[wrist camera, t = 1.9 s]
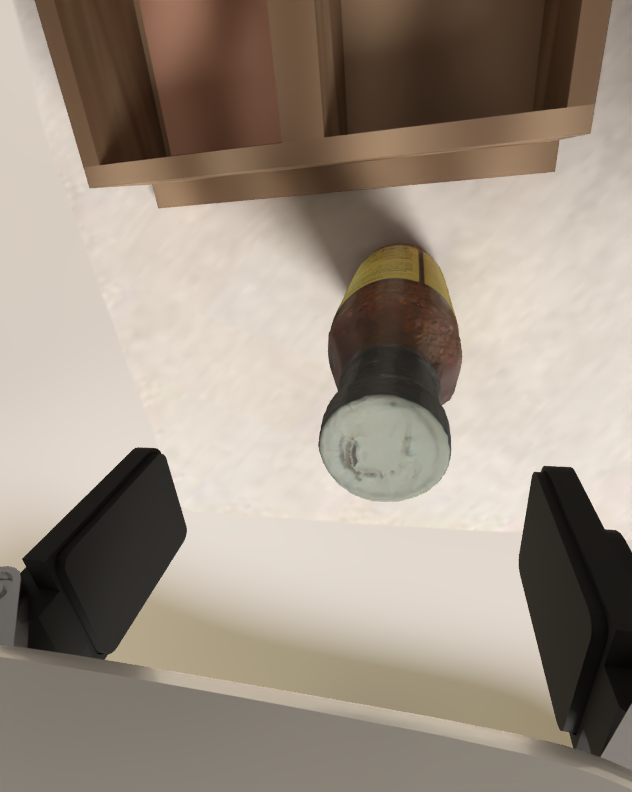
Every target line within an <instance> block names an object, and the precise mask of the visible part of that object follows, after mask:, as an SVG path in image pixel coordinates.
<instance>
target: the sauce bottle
mask: <svg viewBox="0 0 632 792" xmlns="http://www.w3.org/2000/svg"><path fill="white" fill-rule="evenodd" d="M328 357H329V364H330V368H331V371H332V374H333V377H334V380H335V383H336V386H337V389H338V392H337V393H336V394H335V396H334V397H333V398H332V400H331V401H330V403H329V405H328V406H327V410H326V412H325V414H324V416H323V421H322V425H321V431H320V436H319V444H318V446H319V451H320V454H321V457H322V460H323V463H324V464H325V466H326V468H327V470H328V472H329V473H330V474H331V476H332V477H333V478H334V479H335V480H336V481H337V483H338V484H339V485H340V486H342V487H344V488H345V489H347V490H348V491H349V492H350V493H352V494H354V495H356V496H359V497H361V498H364V499H368V500H371V501H382V502H393V501H402V500H405V499H410V498H413V497H416V496H418V495H421V494H423V493H425V492H427V491H429V490H430V489H431V488H432V487H433V486H434V485H436V484H437V483H438V482H439V481H440V480H441V478H442V476H443V475H444V474H445V472H446V470H447V468H448V465H449V461H450V456H451V435H450V427H449V422H448V419H447V416H446V413H445V410H444V409H443V407H442V405H443V404H444V403H446V402H447V401H449V400H450V399H451V397H452V395H453V394H454V391H455V387H456V383H457V380H458V376H459V373H460V369H461V363H462V350H461V343H460V337H459V330H458V324H457V320H456V316H455V313H454V310H453V306H452V303H451V300H450V296H449V292H448V289H447V285H446V282H445V279H444V276H443V273H442V271H441V269H440V267H439V266H438V264H437V263H436V262H435V261H434V259H433V258H432V257H430V256H429V255H428V254H427V253H425V252H423V251H422V250H421V249H420V248H418V247H415V246H411V245H400V244H398V245H393V246H387V247H383V248H380V249H379V250H376V251H375V252H374V253H373V254H372V255H370V256H369V257H368V258H367V259H366V260H365V261H364V262H363V263H362V264H361V265H360V266H359V268H358V269H357V271H356V273H355V274H354V276H353V279H352V281H351V283H350V285H349V287H348V289H347V291H346V294H345V296H344V298H343V300H342V302H341V304H340V306H339V308H338V311H337V313H336V315H335V317H334V320H333V323H332V326H331V330H330V332H329V341H328Z"/></svg>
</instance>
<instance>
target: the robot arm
mask: <svg viewBox="0 0 632 792" xmlns="http://www.w3.org/2000/svg"><path fill="white" fill-rule="evenodd" d="M186 533H187V528H186V524H185V520H184V517H183V514H182V510H181V507H180V503H179V500H178V497H177V493H176V490H175V486H174V483H173V480H172V476H171V473H170V470H169V466H168V463H167V459H166V457H165V455H164V454H161V452H160V451H159V450H158V449H156V448H135V449H133V450H132V451H131V452H130V453H129V454H128V455H127V456H126V457H125V458H124V459H123V460H122V461H121V462H120V463H119V464H118V465H117V466H116V467H115V468H114V469H113V470H112V471H111V472H110V473H109V474H108V475H107V476H106V477H105V478H104V479H103V480H102V481H101V482H100V483H99V484H98V485H97V486H96V487H95V488H94V489H93V490H92V491H91V492H90V493H89V494H88V495H87V496H85V498H83V499H82V500H81V501H80V502H79V503H78V504H77V506H75V507H74V508H73V509H72V510H71V511H70V512H69V513H68V514H67V515H66V516H65V517H64V518H63V519H62V520H61V521H60V522H59V523H58V524H57V525H56V526H55V527H54V528H53V529H52V530H51V531H50V532H49V533H48V534H47V535H46V536H45V537H44V538H43V539H42V540H41V541H40V542H39V543H38V544H37V545H36V546H35V547H34V548H33V549H32V550H31V551H30V552H29V553H28V554H27V555H26V556H25V557H24V558H23V559H22V560H23V562H24V563H25V565H26V568H25V569H24V570H23V571H22V572H21V573H20V572H19V571H18V570H17V569H16V568H14V567H9V566H6V567H0V792H632V552H631V550H630V548H629V546H628V544H627V543H626V541H625V539H624V538H623V536H622V535H621V533H619V532H618V531H616V530H605V529H604V527H603V525H602V523H601V521H600V519H599V517H598V515H597V513H596V512H595V510H594V508H593V506H592V504H591V502H590V500H589V498H588V496H587V494H586V492H585V490H584V488H583V486H582V484H581V482H580V480H579V478H578V476H577V474H576V472H575V471H574V469H573V468H571V467H555V466H544V467H543V468H542V470H541V472H534V473H533V475H532V480H531V486H530V492H529V498H528V505H527V511H526V517H525V523H524V529H523V535H522V541H521V548H520V554H519V571H520V576H521V579H522V584H523V588H524V592H525V596H526V600H527V604H528V608H529V612H530V616H531V620H532V624H533V628H534V632H535V636H536V640H537V644H538V649H539V653H540V656H541V660H542V665H543V669H544V673H545V676H546V681H547V685H548V689H549V693H550V697H551V701H552V705H553V709H554V713H555V717H556V721H557V724H558V726H559V729H560V730H561V731H566V732H569V733H570V737H571V740H572V745H573V748H571V747H567V746H564V745H560V744H556V743H552V742H548V741H544V740H540V739H536V738H532V737H528V736H524V735H519V734H515V733H511V732H505V731H500V730H495V729H490V728H485V727H480V726H475V725H470V724H464V723H460V722H455V721H450V720H445V719H439V718H434V717H429V716H424V715H418V714H412V713H407V712H401V711H396V710H390V709H385V708H379V707H374V706H368V705H362V704H357V703H351V702H346V701H339V700H335V699H329V698H323V697H318V696H312V695H307V694H301V693H295V692H289V691H284V690H278V689H272V688H266V687H260V686H255V685H249V684H243V683H238V682H232V681H226V680H220V679H215V678H209V677H203V676H197V675H191V674H185V673H180V672H174V671H168V670H162V669H156V668H150V667H144V666H138V665H132V664H126V663H120V662H114V661H108V660H105V658H106V656H107V655H108V654H110V653H112V652H113V651H115V649H116V648H117V647H118V645H119V643H120V642H121V640H122V639H123V637H124V635H125V634H126V632H127V630H128V629H129V627H130V626H131V624H132V623H133V621H134V619H135V618H136V616H137V615H138V613H139V611H140V610H141V609H142V607H143V605H144V604H145V602H146V600H147V599H148V597H149V596H150V594H151V592H152V591H153V589H154V588H155V586H156V584H157V583H158V581H159V580H160V578H161V577H162V575H163V574H164V572H165V570H166V569H167V567H168V566H169V564H170V562H171V560H172V559H173V558H174V556H175V554H176V553H177V551H178V550H179V548H180V547H181V545H182V543H183V542H184V540H185V537H186Z"/></svg>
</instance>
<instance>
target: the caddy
mask: <svg viewBox="0 0 632 792" xmlns="http://www.w3.org/2000/svg"><path fill="white" fill-rule="evenodd" d="M35 3H36V6H37V10H38V13H39V17H40V20H41V24H42V27H43V30H44V34H45V37H46V41H47V44H48V47H49V51H50V54H51V58H52V61H53V65H54V68H55V71H56V75H57V78H58V82H59V85H60V88H61V92H62V95H63V99H64V102H65V106H66V109H67V112H68V116H69V119H70V123H71V126H72V129H73V133H74V136H75V140H76V143H77V147H78V150H79V153H80V157H81V160H82V164H83V167H84V170H85V174H86V177H87V181H88V184H89V188H101V187H117V186H132V185H147V184H153V188H154V192H155V197H156V201H157V205H158V208H167V207H178V206H189V205H200V204H211V203H222V202H232V201H243V200H254V199H265V198H276V197H286V196H297V195H308V194H319V193H330V192H341V191H351V190H362V189H373V188H384V187H395V186H405V185H416V184H427V183H438V182H449V181H459V180H470V179H481V178H492V177H503V176H514V175H524V174H535V173H546V172H555V167H556V160H557V153H558V146H559V140H560V139H565V138H570V137H575V136H580V135H585V134H590V133H591V127H592V121H593V115H594V108H595V102H596V96H597V90H598V84H599V78H600V72H601V66H602V60H603V54H604V48H605V42H606V36H607V30H608V24H609V18H610V12H611V6H612V0H35Z"/></svg>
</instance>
